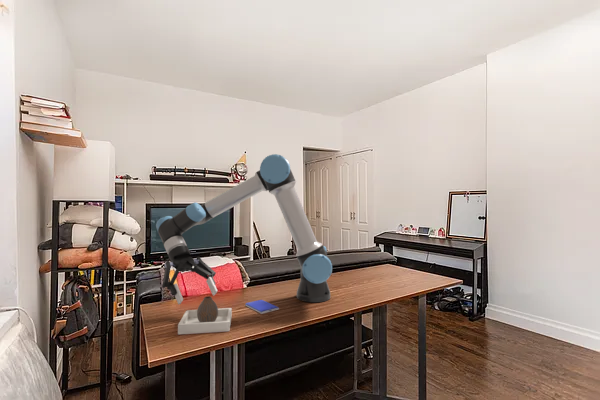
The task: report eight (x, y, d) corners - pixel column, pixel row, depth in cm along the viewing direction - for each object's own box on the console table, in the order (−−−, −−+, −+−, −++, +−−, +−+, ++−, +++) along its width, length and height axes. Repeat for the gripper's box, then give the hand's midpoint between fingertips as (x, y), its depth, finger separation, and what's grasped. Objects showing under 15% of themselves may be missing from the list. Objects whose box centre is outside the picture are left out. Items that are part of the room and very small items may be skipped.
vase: (198, 328, 102) (198, 301, 102) (195, 321, 108) (195, 295, 108) (219, 324, 105) (220, 298, 105) (215, 317, 111) (215, 293, 111)
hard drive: (245, 303, 126) (261, 311, 117) (262, 299, 132) (279, 306, 122) (245, 306, 126) (261, 315, 117) (262, 303, 132) (279, 310, 122)
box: (231, 316, 114) (231, 307, 114) (229, 331, 100) (229, 321, 100) (186, 318, 111) (186, 310, 111) (177, 334, 98) (177, 325, 98)
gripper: (202, 253, 130) (223, 295, 120) (141, 261, 110) (160, 312, 101) (209, 241, 126) (232, 284, 116) (147, 247, 107) (168, 299, 97)
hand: (199, 297), depth 108 cm, fingers open, 13 cm apart
